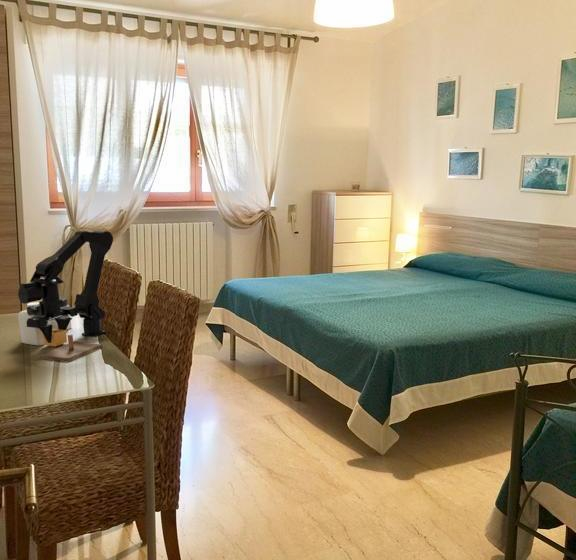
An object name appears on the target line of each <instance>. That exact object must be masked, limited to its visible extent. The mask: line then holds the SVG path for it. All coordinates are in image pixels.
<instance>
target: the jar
mask: <svg viewBox="0 0 576 560" xmlns="http://www.w3.org/2000/svg"><path fill="white" fill-rule="evenodd" d="M59 299H62V303H60V308H64V307H70V305H69V302H68V301H69V300H68V297H65V296H59ZM68 316H69V318H71V316H70V315H68ZM50 318H51V317H50ZM49 325H52V329H58V324H57V322H56V321H55V319H54V320H51V321H49ZM70 328H71V329H72V321H71V320H70V322H69V324H68V326H67V329H68V330H71V329H70ZM67 329H66V331H68V330H67Z"/></svg>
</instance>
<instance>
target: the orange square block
mask: <svg viewBox="0 0 576 560" xmlns="http://www.w3.org/2000/svg"><path fill="white" fill-rule="evenodd" d="M43 339H44V345H43V346H51V347H57V346H61V345H63V344H65V343H68V335H67V330H61V329H52V339H51V343H48V342H47V340H46V338H45V336H44V335H43Z"/></svg>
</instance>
